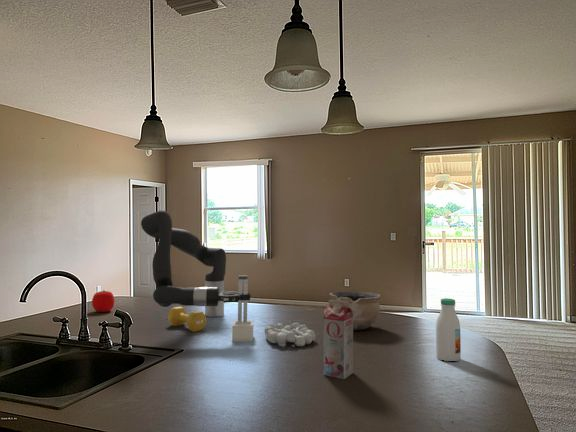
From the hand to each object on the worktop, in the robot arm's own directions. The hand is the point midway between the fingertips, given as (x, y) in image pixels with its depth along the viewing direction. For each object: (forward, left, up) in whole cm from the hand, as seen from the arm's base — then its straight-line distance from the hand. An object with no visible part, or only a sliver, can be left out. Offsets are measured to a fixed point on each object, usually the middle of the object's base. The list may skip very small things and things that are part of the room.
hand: (250, 296), depth 170 cm
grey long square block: (+1, -3, -10) cm, 10 cm away
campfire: (-2, +16, -17) cm, 23 cm away
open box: (+1, -3, -16) cm, 17 cm away
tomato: (-27, -92, -17) cm, 97 cm away
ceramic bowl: (-29, +37, -17) cm, 50 cm away
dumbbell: (-9, -33, -17) cm, 38 cm away
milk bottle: (+5, +73, -17) cm, 75 cm away
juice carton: (+30, +40, -17) cm, 53 cm away
